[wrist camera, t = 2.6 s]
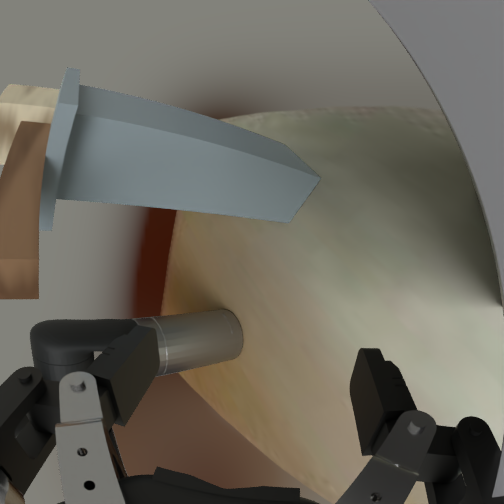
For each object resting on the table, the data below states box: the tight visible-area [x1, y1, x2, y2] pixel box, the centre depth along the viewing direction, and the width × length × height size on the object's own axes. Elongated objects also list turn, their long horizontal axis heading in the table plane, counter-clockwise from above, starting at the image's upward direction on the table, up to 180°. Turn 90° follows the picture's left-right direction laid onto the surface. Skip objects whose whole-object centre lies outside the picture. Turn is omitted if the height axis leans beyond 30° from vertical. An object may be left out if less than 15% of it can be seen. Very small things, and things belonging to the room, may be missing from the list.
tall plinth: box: [39, 67, 321, 231], centre depth 31 cm, size 11×12×32 cm
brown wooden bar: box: [0, 84, 60, 299], centre depth 16 cm, size 6×22×6 cm, turn 45°
